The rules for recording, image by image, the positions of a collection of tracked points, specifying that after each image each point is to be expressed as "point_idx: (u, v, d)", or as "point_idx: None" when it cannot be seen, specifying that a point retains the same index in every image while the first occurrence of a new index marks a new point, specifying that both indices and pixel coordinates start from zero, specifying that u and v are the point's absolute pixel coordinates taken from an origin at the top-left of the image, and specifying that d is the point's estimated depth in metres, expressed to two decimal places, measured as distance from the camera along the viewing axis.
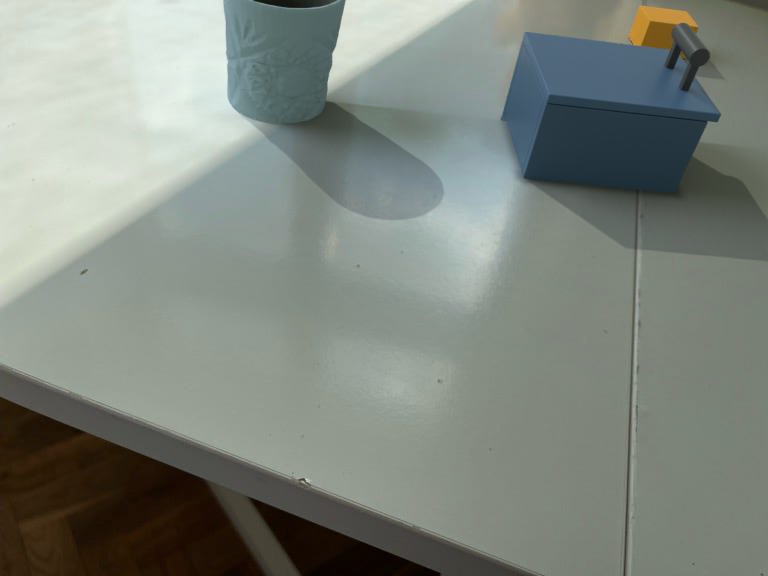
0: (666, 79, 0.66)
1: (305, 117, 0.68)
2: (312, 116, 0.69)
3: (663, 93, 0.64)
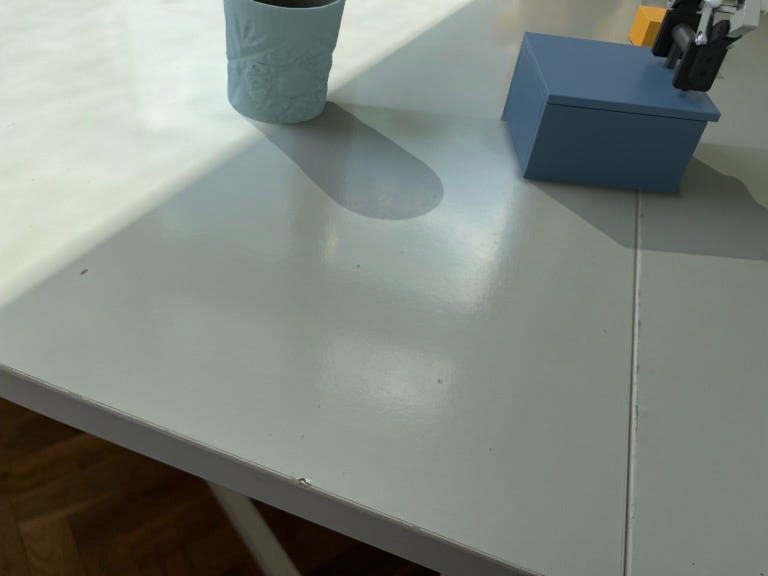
0: (666, 79, 0.66)
1: (305, 117, 0.68)
2: (312, 116, 0.69)
3: (663, 93, 0.64)
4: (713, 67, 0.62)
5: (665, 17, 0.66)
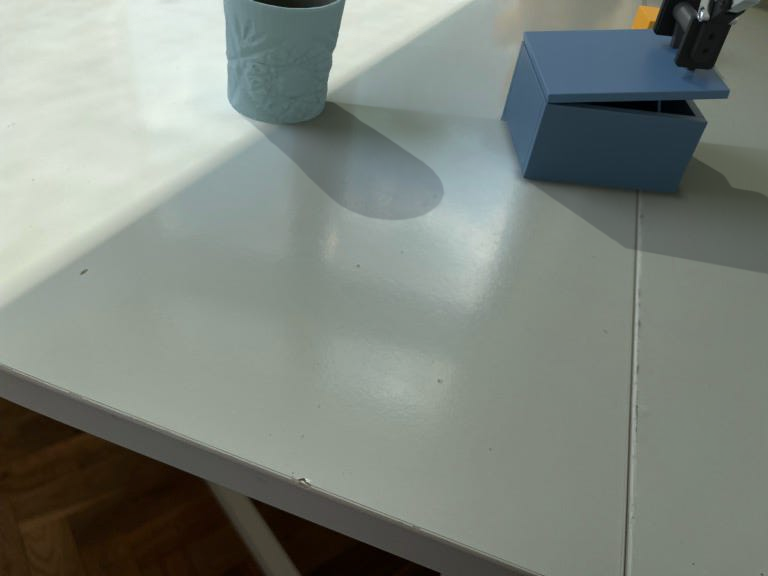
0: (672, 61, 0.65)
1: (305, 117, 0.68)
2: (312, 116, 0.69)
3: (668, 76, 0.63)
4: (716, 44, 0.61)
5: None
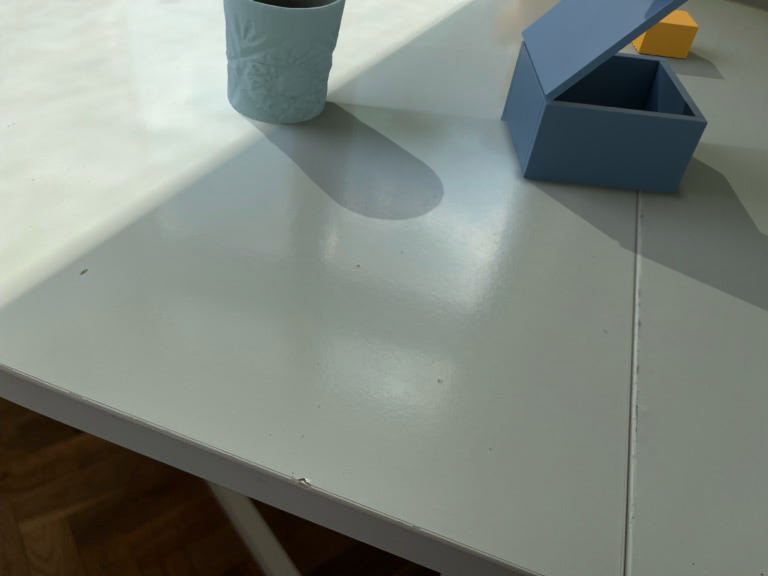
0: None
1: (305, 117, 0.68)
2: (312, 116, 0.69)
3: None
4: None
5: None
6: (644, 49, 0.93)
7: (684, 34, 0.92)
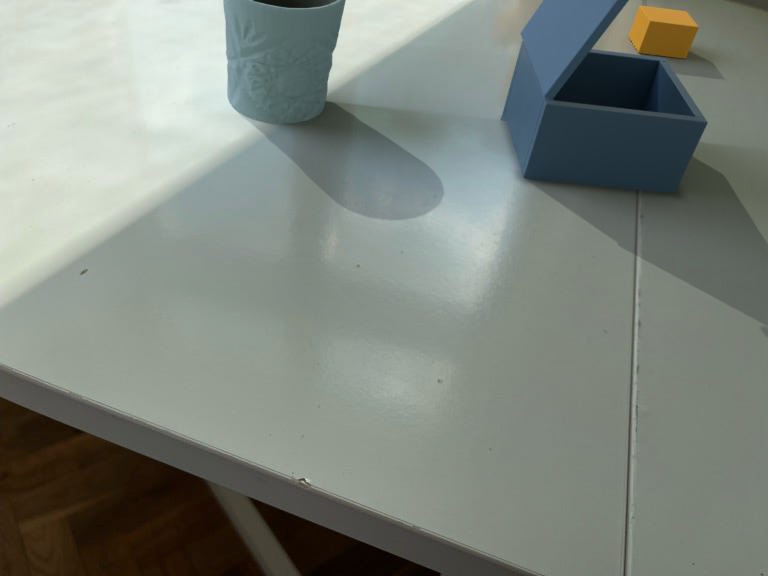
0: None
1: (305, 117, 0.68)
2: (312, 116, 0.69)
3: None
4: None
5: None
6: (644, 49, 0.93)
7: (684, 34, 0.92)
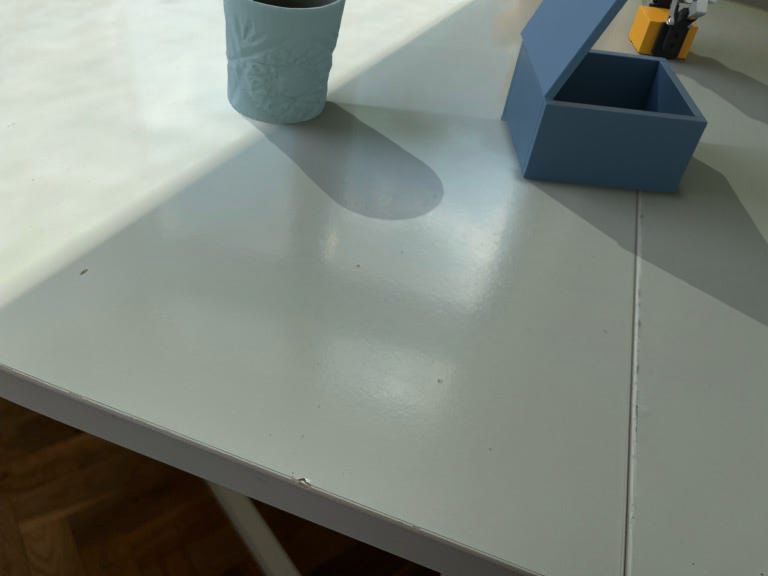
0: None
1: (305, 117, 0.68)
2: (312, 116, 0.69)
3: None
4: (679, 40, 0.91)
5: None
6: (644, 49, 0.93)
7: None
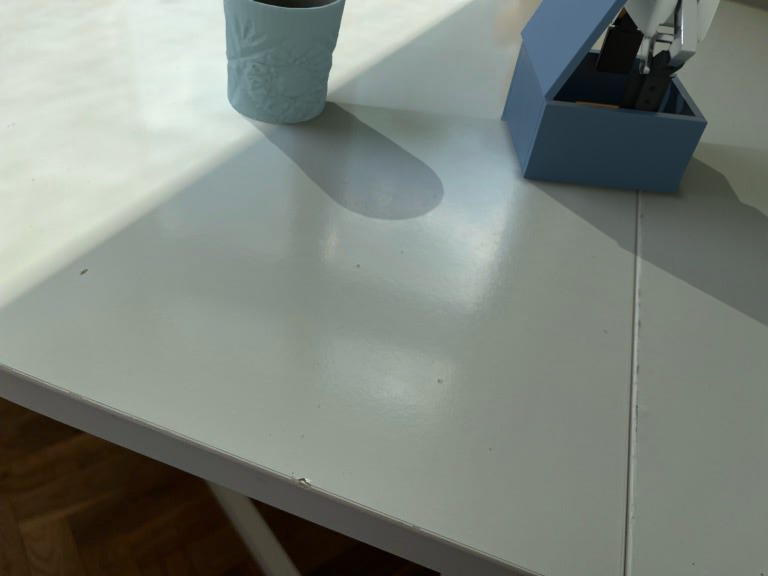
0: None
1: (305, 117, 0.68)
2: (312, 116, 0.69)
3: None
4: (657, 95, 0.63)
5: (607, 34, 0.68)
6: None
7: None
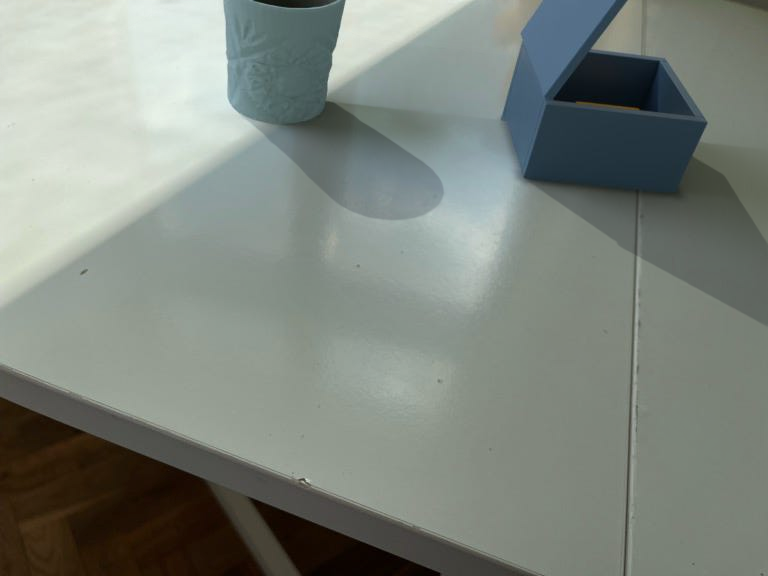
0: None
1: (305, 117, 0.68)
2: (312, 116, 0.69)
3: None
4: None
5: None
6: None
7: None
